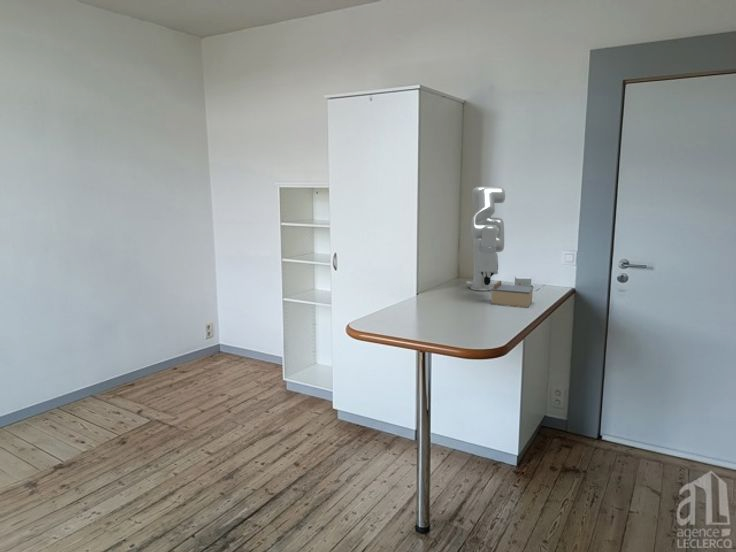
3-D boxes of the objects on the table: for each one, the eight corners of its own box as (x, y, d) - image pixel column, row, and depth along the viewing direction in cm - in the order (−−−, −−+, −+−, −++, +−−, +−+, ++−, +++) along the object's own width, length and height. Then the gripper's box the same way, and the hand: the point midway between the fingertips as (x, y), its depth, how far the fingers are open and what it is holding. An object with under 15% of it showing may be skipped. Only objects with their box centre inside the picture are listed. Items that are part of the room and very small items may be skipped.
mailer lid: (491, 290, 258) (491, 284, 257) (497, 285, 271) (497, 280, 270) (529, 293, 250) (529, 287, 249) (533, 288, 263) (533, 282, 262)
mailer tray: (491, 304, 259) (491, 290, 258) (497, 298, 271) (497, 286, 270) (527, 307, 251) (528, 293, 250) (531, 302, 264) (532, 288, 262)
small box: (528, 295, 281) (529, 276, 279) (530, 297, 275) (531, 278, 273) (513, 295, 281) (514, 276, 280) (515, 297, 276) (516, 278, 274)
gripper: (472, 250, 262) (471, 284, 265) (501, 251, 256) (499, 287, 259) (476, 248, 269) (474, 282, 272) (504, 250, 263) (502, 284, 266)
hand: (487, 284), depth 266 cm, fingers closed
